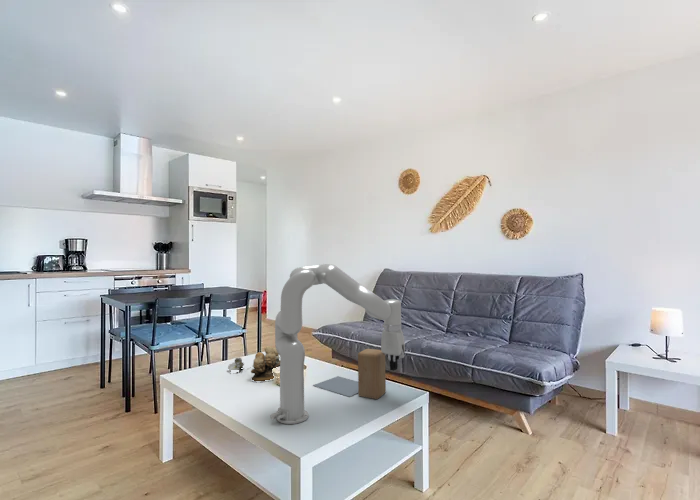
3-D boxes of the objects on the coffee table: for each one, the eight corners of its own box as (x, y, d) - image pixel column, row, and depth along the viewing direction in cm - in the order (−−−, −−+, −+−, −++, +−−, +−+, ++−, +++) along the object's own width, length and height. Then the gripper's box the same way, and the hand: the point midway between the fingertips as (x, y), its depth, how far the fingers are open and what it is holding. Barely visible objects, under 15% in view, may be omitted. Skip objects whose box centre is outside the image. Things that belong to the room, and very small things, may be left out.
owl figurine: (275, 371, 220) (274, 341, 220) (288, 376, 212) (287, 344, 212) (246, 379, 207) (246, 346, 207) (258, 384, 199) (258, 350, 199)
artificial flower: (271, 370, 226) (269, 355, 223) (230, 381, 217) (228, 365, 214) (267, 362, 234) (266, 347, 231) (227, 372, 225) (226, 357, 222)
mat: (349, 397, 180) (349, 396, 180) (313, 385, 195) (313, 385, 195) (374, 386, 193) (374, 385, 193) (338, 376, 209) (338, 376, 209)
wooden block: (357, 396, 180) (357, 352, 180) (367, 389, 189) (366, 347, 189) (377, 400, 176) (377, 355, 176) (386, 393, 184) (385, 349, 184)
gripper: (374, 327, 177) (375, 368, 177) (402, 331, 167) (403, 375, 167) (384, 324, 182) (385, 364, 182) (411, 328, 172) (412, 370, 172)
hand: (393, 369), depth 174 cm, fingers closed
